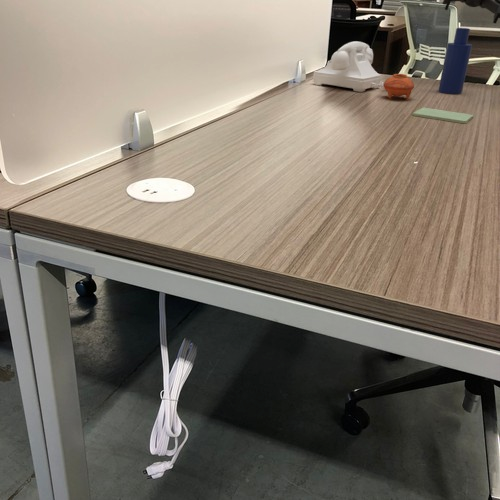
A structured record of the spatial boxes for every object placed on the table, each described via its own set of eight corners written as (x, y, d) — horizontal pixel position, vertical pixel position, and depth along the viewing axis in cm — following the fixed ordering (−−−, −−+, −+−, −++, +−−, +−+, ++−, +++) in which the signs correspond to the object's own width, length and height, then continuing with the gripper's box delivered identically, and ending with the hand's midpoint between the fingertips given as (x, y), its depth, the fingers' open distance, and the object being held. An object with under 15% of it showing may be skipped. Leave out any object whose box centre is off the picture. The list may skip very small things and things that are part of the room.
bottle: (463, 92, 148) (477, 28, 140) (458, 95, 143) (472, 29, 135) (441, 89, 151) (454, 27, 143) (435, 92, 146) (448, 28, 138)
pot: (415, 96, 138) (419, 71, 134) (407, 107, 133) (410, 82, 129) (387, 91, 141) (390, 67, 137) (377, 102, 136) (380, 78, 132)
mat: (473, 117, 118) (473, 114, 118) (465, 123, 112) (465, 121, 112) (422, 109, 124) (422, 107, 124) (412, 115, 118) (412, 113, 118)
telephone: (347, 77, 166) (352, 35, 160) (406, 85, 154) (414, 41, 148) (303, 85, 149) (306, 40, 143) (366, 96, 137) (372, 47, 131)
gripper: (511, 14, 155) (510, 37, 140) (431, -8, 159) (422, 13, 144) (524, -12, 149) (524, 9, 135) (441, -34, 154) (433, -15, 139)
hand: (472, 11), depth 139 cm, fingers open, 13 cm apart
